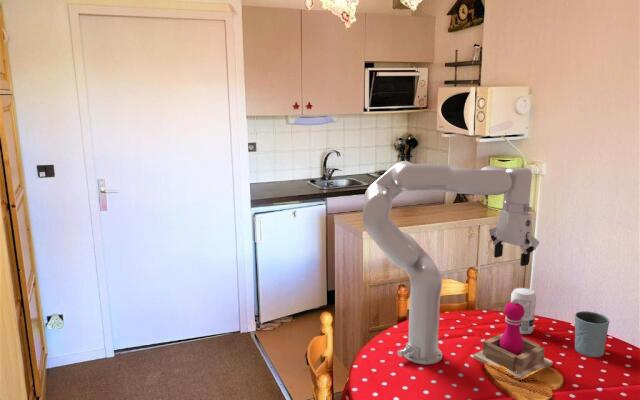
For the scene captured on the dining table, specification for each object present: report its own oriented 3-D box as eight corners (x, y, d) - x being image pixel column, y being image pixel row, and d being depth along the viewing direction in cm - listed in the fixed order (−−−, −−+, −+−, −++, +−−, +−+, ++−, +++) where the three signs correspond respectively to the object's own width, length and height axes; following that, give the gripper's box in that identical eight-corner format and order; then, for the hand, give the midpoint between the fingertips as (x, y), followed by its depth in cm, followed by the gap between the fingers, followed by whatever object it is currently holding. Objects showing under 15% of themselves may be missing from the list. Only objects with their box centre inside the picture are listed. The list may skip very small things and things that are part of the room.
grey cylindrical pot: (597, 361, 159) (601, 326, 157) (566, 349, 167) (569, 316, 164) (610, 351, 165) (614, 317, 163) (579, 340, 173) (582, 308, 171)
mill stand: (519, 381, 148) (520, 364, 147) (473, 357, 162) (474, 341, 161) (552, 364, 157) (553, 348, 156) (506, 343, 171) (507, 328, 170)
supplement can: (504, 326, 184) (506, 288, 181) (522, 323, 186) (525, 285, 183) (518, 336, 176) (522, 296, 173) (538, 333, 179) (541, 293, 176)
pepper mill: (524, 363, 155) (529, 303, 152) (500, 361, 157) (504, 301, 153) (520, 352, 162) (525, 295, 158) (497, 350, 164) (501, 293, 160)
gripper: (548, 211, 147) (543, 266, 151) (500, 201, 162) (496, 252, 165) (533, 214, 143) (527, 270, 147) (484, 203, 158) (480, 255, 161)
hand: (510, 260), depth 156 cm, fingers open, 9 cm apart
